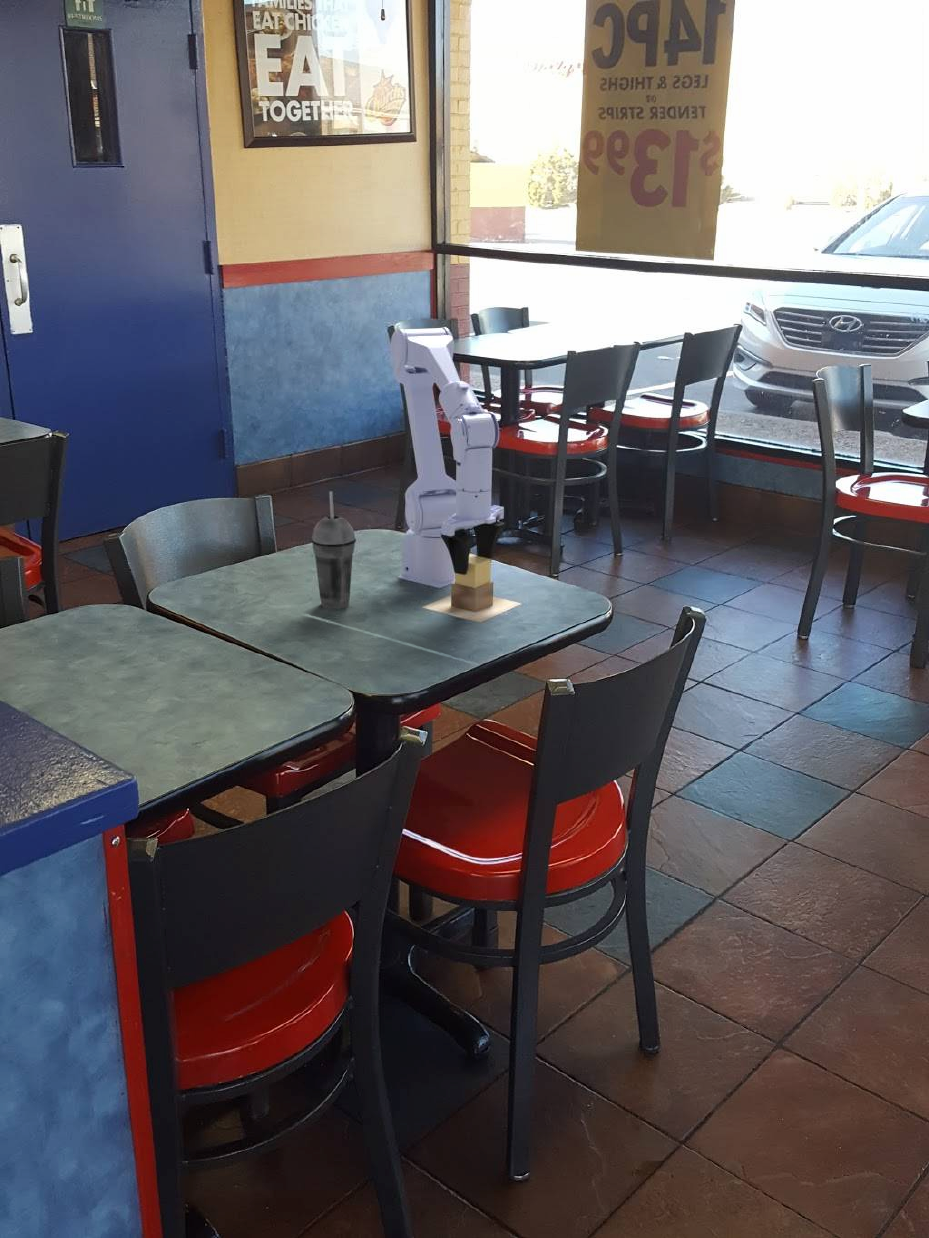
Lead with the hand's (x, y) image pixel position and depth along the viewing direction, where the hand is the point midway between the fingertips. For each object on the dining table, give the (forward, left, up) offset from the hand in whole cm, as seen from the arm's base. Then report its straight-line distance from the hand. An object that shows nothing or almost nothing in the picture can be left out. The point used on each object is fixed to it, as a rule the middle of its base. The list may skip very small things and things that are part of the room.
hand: (472, 568), depth 199 cm
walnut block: (0, 0, -6) cm, 6 cm away
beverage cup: (-18, -14, -7) cm, 24 cm away
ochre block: (0, 0, -2) cm, 2 cm away
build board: (0, 0, -7) cm, 7 cm away
